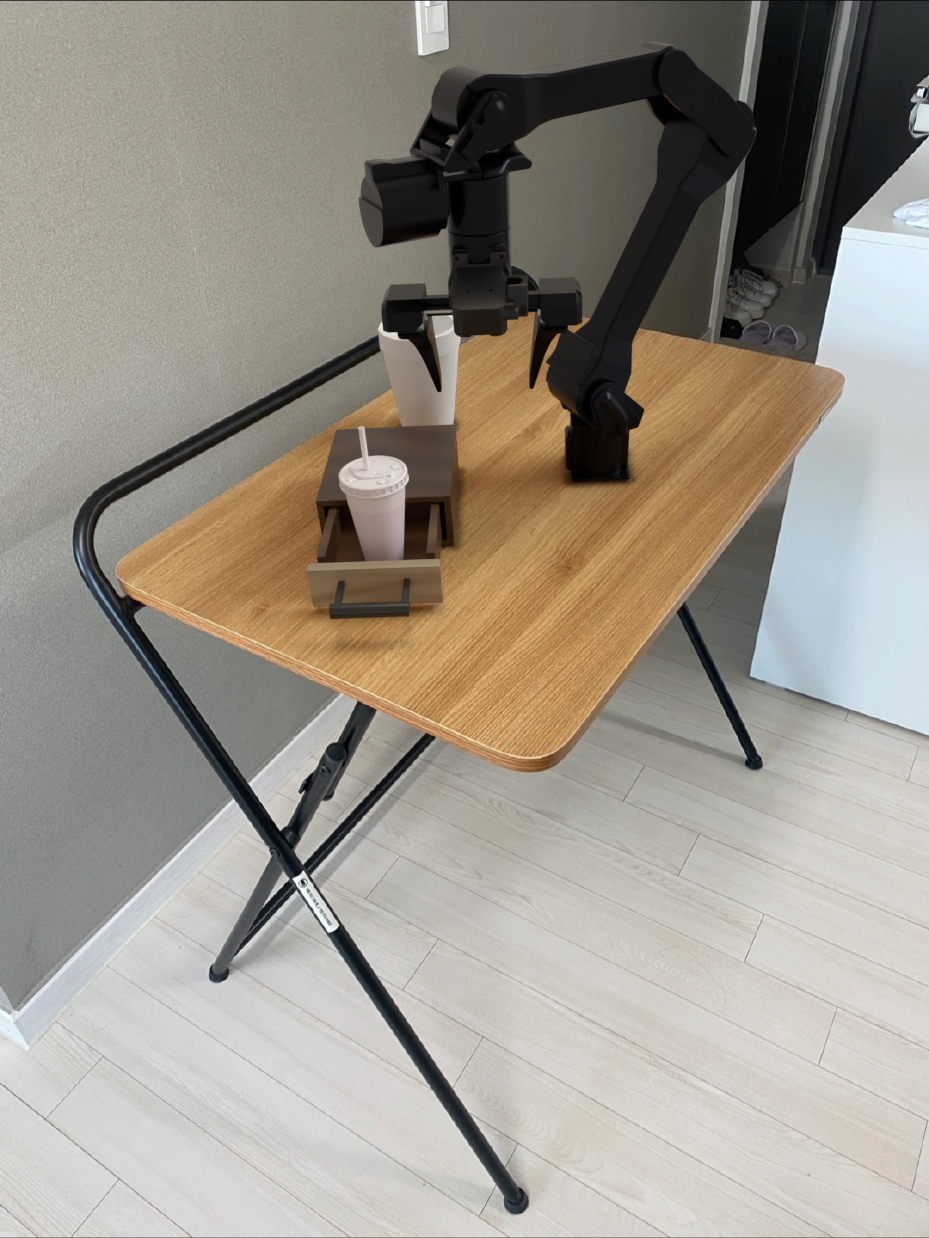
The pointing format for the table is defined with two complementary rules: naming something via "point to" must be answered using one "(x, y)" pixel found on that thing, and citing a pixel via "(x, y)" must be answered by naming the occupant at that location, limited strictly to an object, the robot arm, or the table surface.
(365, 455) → the smoothie
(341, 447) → the cabinet
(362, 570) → the drawer
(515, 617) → the table surface
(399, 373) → the foam cup
